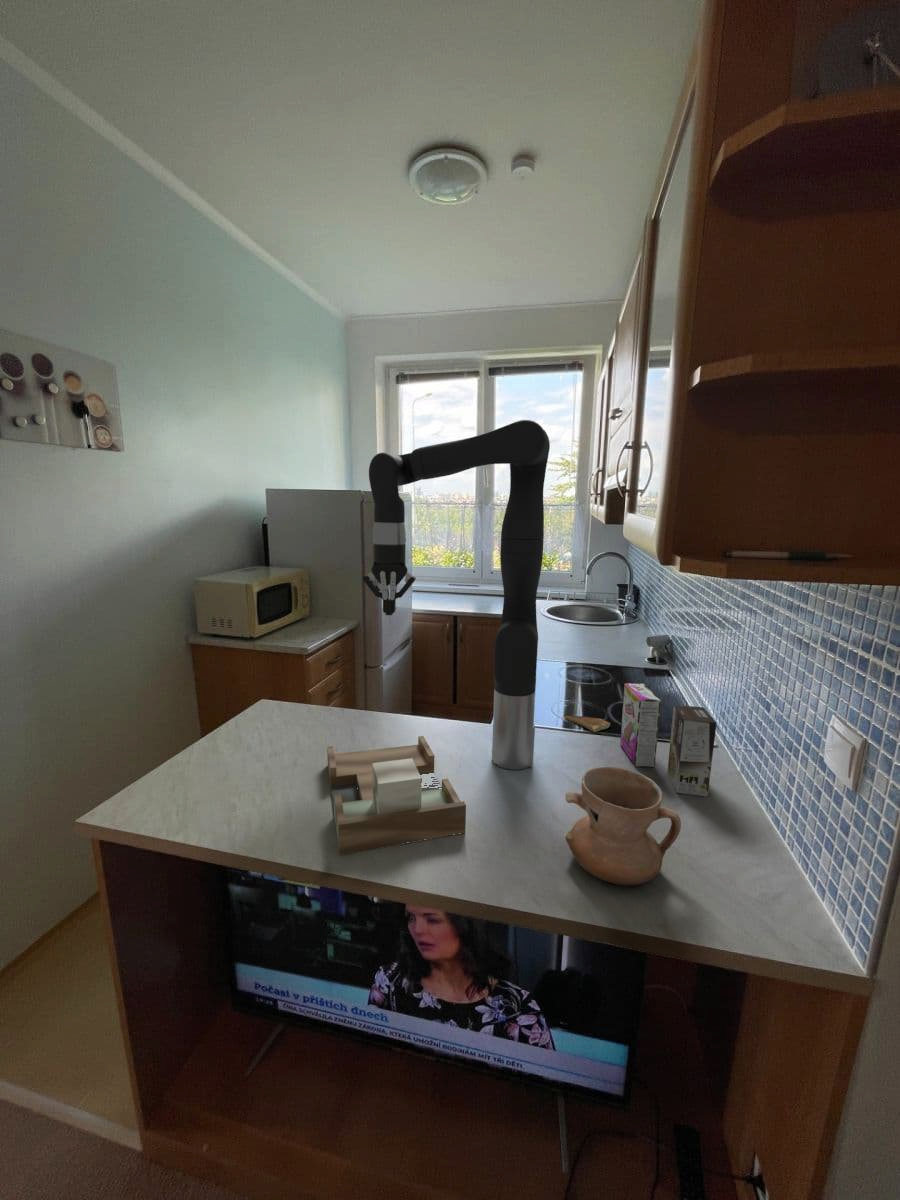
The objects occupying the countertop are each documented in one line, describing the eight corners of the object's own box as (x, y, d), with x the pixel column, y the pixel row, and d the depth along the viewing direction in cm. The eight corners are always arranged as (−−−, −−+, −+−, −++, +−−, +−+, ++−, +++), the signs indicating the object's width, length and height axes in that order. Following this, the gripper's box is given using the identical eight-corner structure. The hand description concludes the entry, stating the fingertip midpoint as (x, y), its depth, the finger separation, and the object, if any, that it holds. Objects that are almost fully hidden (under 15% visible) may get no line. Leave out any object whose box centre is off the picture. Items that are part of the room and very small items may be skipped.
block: (372, 802, 94) (372, 763, 93) (411, 797, 96) (412, 758, 95) (378, 826, 87) (378, 783, 86) (421, 819, 89) (421, 778, 88)
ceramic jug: (558, 883, 78) (565, 800, 75) (561, 827, 92) (568, 755, 89) (683, 910, 74) (696, 823, 71) (667, 847, 88) (677, 772, 85)
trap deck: (327, 765, 113) (327, 742, 112) (423, 753, 119) (423, 732, 118) (339, 855, 83) (339, 824, 82) (465, 833, 90) (466, 805, 89)
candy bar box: (618, 745, 126) (623, 682, 123) (638, 746, 126) (644, 683, 123) (633, 767, 115) (639, 699, 112) (655, 768, 115) (662, 699, 112)
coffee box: (709, 797, 103) (718, 723, 100) (675, 793, 104) (683, 719, 102) (697, 775, 112) (704, 706, 109) (666, 771, 113) (673, 703, 110)
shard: (563, 720, 142) (563, 714, 142) (582, 715, 146) (583, 709, 146) (593, 734, 133) (593, 727, 133) (612, 728, 137) (613, 722, 137)
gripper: (357, 542, 115) (358, 617, 117) (415, 543, 114) (414, 618, 117) (364, 540, 122) (365, 611, 125) (419, 542, 121) (418, 612, 124)
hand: (389, 614), depth 121 cm, fingers closed
